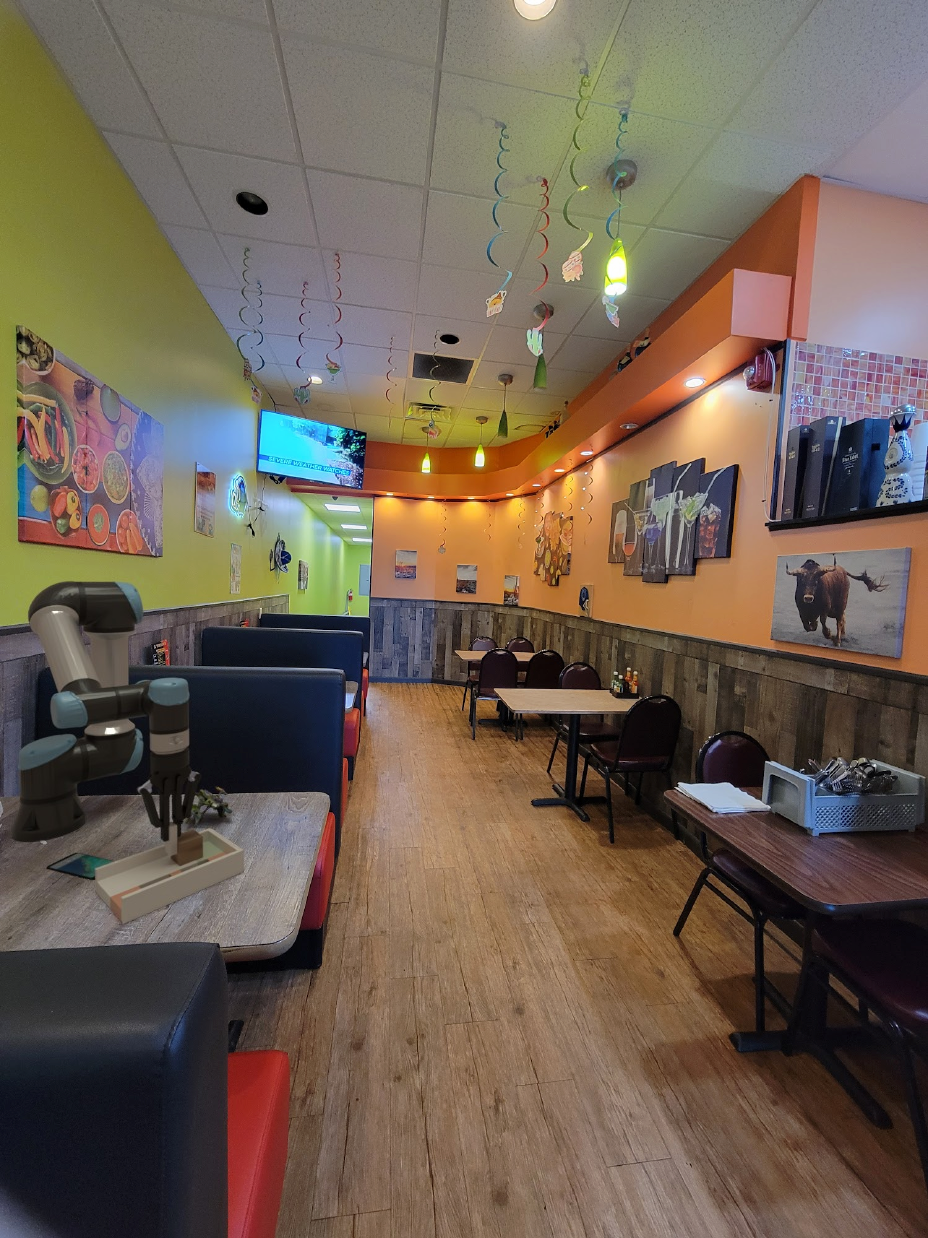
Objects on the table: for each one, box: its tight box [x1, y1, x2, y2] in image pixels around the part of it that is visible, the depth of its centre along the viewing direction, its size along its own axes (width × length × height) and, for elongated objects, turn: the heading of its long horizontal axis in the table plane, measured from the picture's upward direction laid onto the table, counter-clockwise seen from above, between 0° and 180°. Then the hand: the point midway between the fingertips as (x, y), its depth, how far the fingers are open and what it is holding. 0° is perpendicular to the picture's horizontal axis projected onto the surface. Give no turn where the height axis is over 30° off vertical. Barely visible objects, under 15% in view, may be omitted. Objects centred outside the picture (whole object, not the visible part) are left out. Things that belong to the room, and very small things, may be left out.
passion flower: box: [185, 786, 233, 829], centre depth 140 cm, size 11×11×12 cm
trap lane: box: [94, 827, 245, 925], centre depth 113 cm, size 16×24×5 cm, turn 141°
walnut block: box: [170, 828, 203, 866], centre depth 117 cm, size 5×5×5 cm
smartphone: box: [45, 852, 116, 881], centre depth 118 cm, size 7×1×15 cm
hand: (171, 852), depth 115 cm, fingers closed
